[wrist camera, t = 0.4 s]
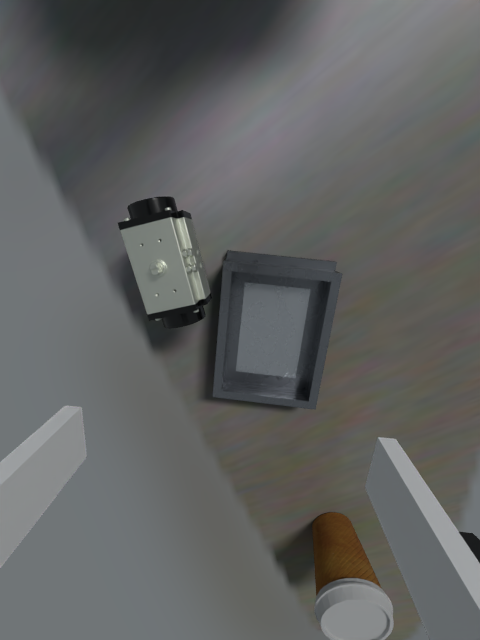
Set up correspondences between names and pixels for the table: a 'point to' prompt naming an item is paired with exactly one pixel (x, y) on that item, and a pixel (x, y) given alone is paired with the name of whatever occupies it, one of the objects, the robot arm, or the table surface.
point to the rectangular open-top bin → (274, 328)
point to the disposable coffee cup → (347, 584)
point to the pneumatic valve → (166, 261)
